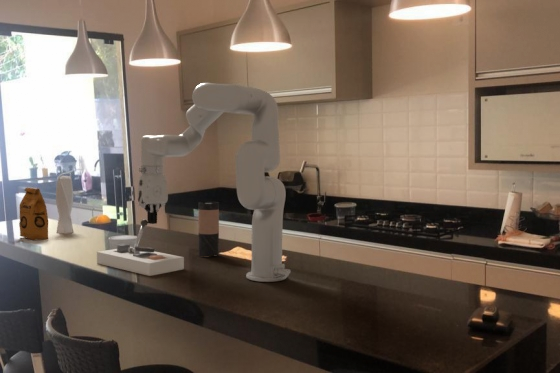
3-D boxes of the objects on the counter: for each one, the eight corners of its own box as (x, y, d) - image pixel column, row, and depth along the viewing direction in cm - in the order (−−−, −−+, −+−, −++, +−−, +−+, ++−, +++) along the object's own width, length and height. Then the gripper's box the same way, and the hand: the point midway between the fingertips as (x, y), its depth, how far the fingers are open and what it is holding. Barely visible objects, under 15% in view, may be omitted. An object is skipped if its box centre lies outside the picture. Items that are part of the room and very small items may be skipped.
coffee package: (28, 241, 241) (28, 189, 240) (17, 237, 250) (16, 187, 249) (52, 238, 249) (51, 188, 247) (39, 235, 257) (39, 186, 256)
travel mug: (215, 258, 210) (215, 203, 209) (195, 257, 211) (195, 203, 210) (221, 254, 217) (221, 201, 216) (202, 253, 219) (202, 201, 218)
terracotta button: (166, 265, 188) (166, 256, 188) (155, 267, 185) (155, 257, 185) (157, 263, 191) (157, 254, 191) (146, 265, 188) (146, 256, 188)
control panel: (183, 269, 190) (183, 251, 190) (149, 275, 179) (149, 257, 179) (130, 257, 209) (130, 241, 208) (96, 263, 198) (96, 246, 197)
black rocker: (153, 252, 193) (154, 248, 193) (141, 251, 189) (141, 247, 189) (148, 251, 195) (148, 247, 195) (135, 250, 191) (136, 246, 191)
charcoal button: (132, 253, 200) (132, 244, 200) (122, 255, 196) (121, 246, 196) (125, 252, 203) (125, 243, 202) (114, 254, 199) (114, 244, 199)
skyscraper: (64, 231, 272) (63, 172, 270) (77, 231, 270) (77, 172, 268) (52, 233, 264) (52, 172, 263) (66, 234, 262) (65, 173, 260)
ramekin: (106, 249, 226) (105, 236, 225) (134, 247, 231) (134, 234, 230) (111, 254, 216) (111, 240, 215) (141, 252, 221) (141, 238, 220)
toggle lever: (138, 254, 195) (150, 221, 199) (132, 252, 194) (144, 218, 197) (133, 253, 197) (145, 220, 200) (128, 251, 195) (140, 218, 198)
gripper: (141, 171, 192) (141, 226, 193) (176, 171, 203) (175, 222, 204) (127, 171, 196) (127, 224, 198) (162, 170, 208) (162, 220, 209)
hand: (152, 223), depth 201 cm, fingers closed
